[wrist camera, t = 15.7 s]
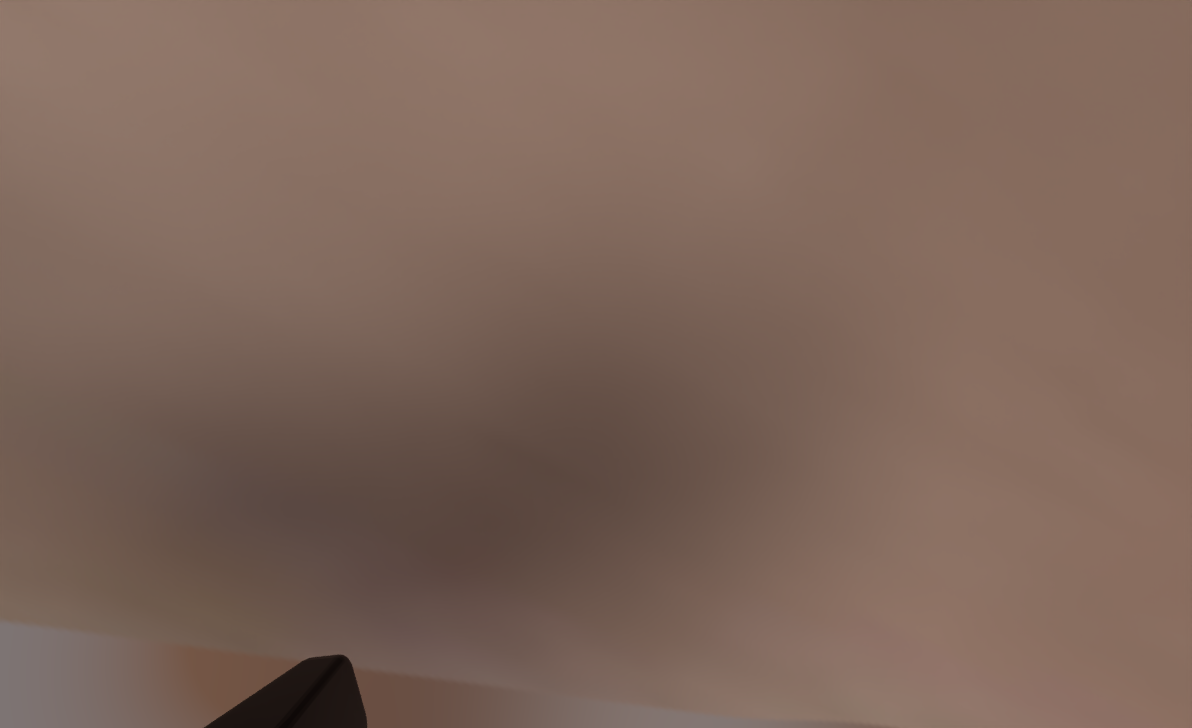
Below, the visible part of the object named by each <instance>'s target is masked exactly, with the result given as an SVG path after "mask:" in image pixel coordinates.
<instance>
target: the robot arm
mask: <svg viewBox="0 0 1192 728" xmlns="http://www.w3.org/2000/svg"><path fill="white" fill-rule="evenodd" d="M204 728H367V718H366V713H365V709H364V706H363V703H362V699H361V695H360V691H359V688H358V684H357V681H356V677H355V674H354V670H353V667H352V664H351V662H350V660H349V659H348V658H347V657H346V656H344V655H331V656H322V657H313V658H308V659H306V660H304V661H302V662H301V663H299V664H298V665H296V666H295V667H293V668H292V669H290V670H289V671H287V672H286V673H285V674H283V675H281V676H280V677H278V678H277V679H275V680H274V681H273V682H271V683H269V684H268V685H267V686H265V687H263V688H262V689H261V690H259V691H257V692H256V693H255V694H253V695H252V696H250V697H249V698H247V699H246V700H244V701H243V702H241V703H240V704H238V705H237V706H235V707H234V708H233V709H231V710H229V711H228V712H226V713H225V714H224V715H222V716H220V717H219V718H217V719H216V720H214V721H213V722H211V723H210V724H209V725H207V726H206V727H204Z"/></svg>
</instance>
